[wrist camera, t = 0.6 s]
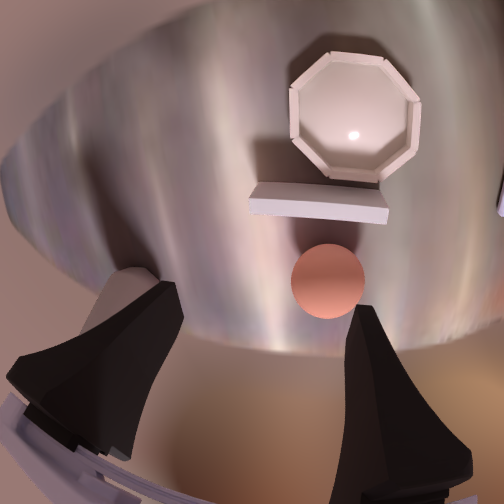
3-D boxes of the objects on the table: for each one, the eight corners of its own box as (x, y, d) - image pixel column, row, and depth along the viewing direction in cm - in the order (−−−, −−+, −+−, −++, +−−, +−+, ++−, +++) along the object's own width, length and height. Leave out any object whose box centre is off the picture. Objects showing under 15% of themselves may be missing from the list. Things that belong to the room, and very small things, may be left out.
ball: (366, 233, 19) (376, 277, 14) (355, 288, 21) (358, 336, 17) (295, 227, 20) (287, 270, 16) (293, 283, 22) (285, 330, 18)
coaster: (414, 66, 12) (421, 64, 10) (406, 180, 16) (412, 187, 15) (289, 53, 13) (287, 50, 12) (292, 169, 17) (290, 176, 16)
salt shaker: (112, 257, 26) (30, 351, 15) (158, 258, 24) (72, 373, 14) (132, 301, 29) (68, 394, 18) (176, 307, 27) (114, 416, 17)
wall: (379, 189, 17) (389, 208, 14) (377, 203, 17) (386, 224, 15) (259, 181, 18) (248, 198, 16) (259, 195, 19) (249, 214, 16)
